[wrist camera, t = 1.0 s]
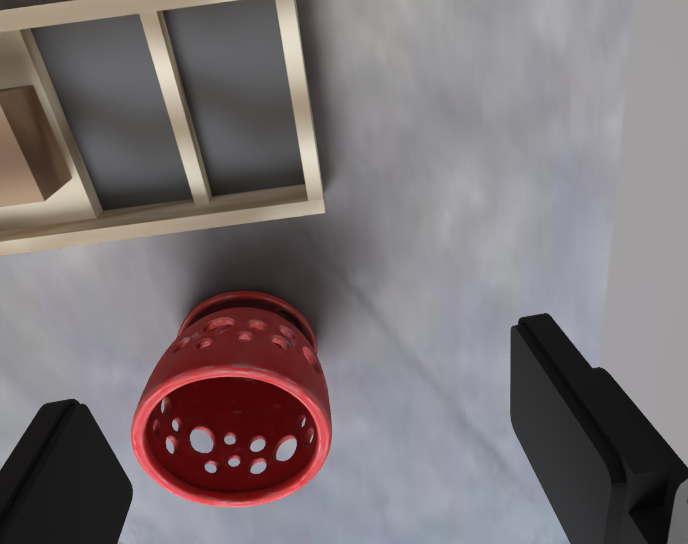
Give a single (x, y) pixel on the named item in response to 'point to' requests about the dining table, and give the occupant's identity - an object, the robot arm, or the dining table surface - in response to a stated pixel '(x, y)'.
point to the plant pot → (236, 402)
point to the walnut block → (27, 150)
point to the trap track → (163, 117)
